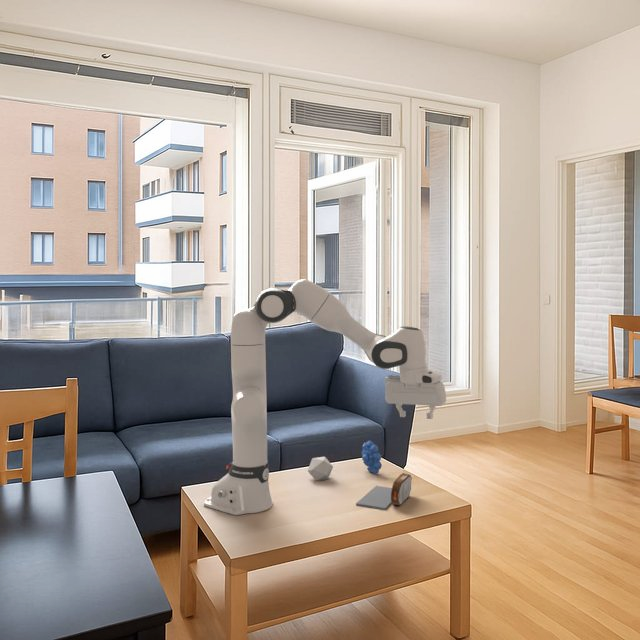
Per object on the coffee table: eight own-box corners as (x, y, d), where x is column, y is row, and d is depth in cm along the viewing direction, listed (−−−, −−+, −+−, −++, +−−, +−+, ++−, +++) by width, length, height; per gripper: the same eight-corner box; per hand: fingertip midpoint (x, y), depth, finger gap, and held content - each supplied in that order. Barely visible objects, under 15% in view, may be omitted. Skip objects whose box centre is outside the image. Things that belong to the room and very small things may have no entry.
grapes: (353, 470, 239) (353, 439, 238) (368, 467, 242) (368, 437, 241) (370, 478, 229) (370, 446, 228) (385, 475, 232) (385, 444, 231)
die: (327, 475, 234) (311, 455, 234) (341, 469, 229) (325, 448, 229) (315, 488, 228) (299, 468, 228) (329, 482, 223) (313, 461, 223)
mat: (356, 505, 202) (356, 503, 202) (376, 487, 219) (376, 485, 219) (385, 509, 198) (385, 508, 197) (403, 491, 215) (403, 489, 215)
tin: (404, 493, 213) (404, 469, 212) (413, 494, 211) (413, 470, 211) (389, 508, 199) (389, 482, 199) (399, 509, 198) (399, 483, 197)
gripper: (380, 377, 205) (383, 418, 206) (439, 378, 194) (442, 421, 195) (388, 373, 210) (391, 413, 211) (446, 374, 199) (449, 417, 200)
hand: (416, 417), depth 203 cm, fingers open, 8 cm apart
